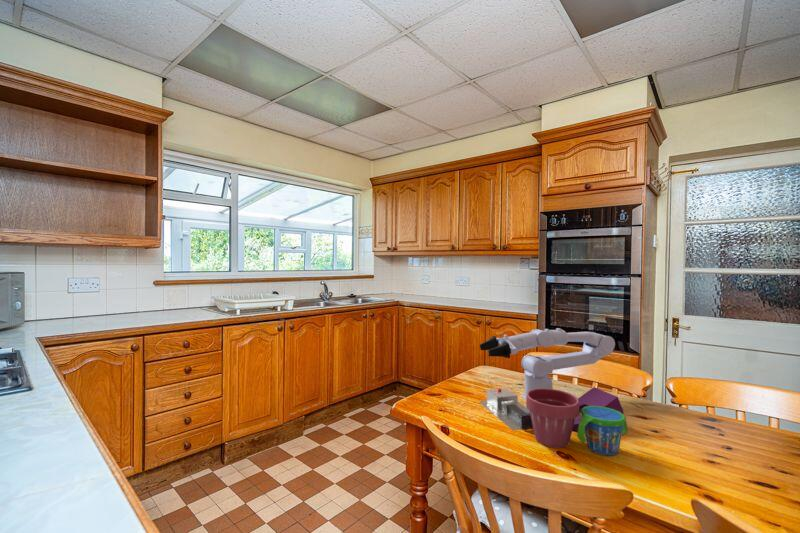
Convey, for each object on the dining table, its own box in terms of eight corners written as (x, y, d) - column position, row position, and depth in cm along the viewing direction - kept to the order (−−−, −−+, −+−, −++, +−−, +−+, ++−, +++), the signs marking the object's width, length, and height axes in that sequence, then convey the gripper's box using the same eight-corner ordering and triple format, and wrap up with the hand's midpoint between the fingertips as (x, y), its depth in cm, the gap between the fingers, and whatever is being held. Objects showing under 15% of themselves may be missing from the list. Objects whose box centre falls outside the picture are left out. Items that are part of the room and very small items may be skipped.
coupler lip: (512, 398, 139) (512, 387, 139) (553, 426, 115) (552, 412, 115) (478, 402, 136) (478, 390, 136) (512, 431, 112) (512, 417, 112)
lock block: (506, 399, 138) (506, 386, 138) (517, 407, 130) (517, 393, 130) (486, 401, 136) (486, 388, 136) (497, 409, 128) (497, 395, 128)
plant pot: (589, 452, 99) (589, 405, 99) (537, 453, 99) (537, 406, 99) (564, 428, 113) (564, 387, 113) (519, 429, 113) (519, 388, 113)
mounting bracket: (584, 452, 111) (627, 419, 116) (574, 428, 110) (617, 396, 114) (562, 437, 120) (602, 408, 125) (553, 416, 119) (594, 387, 123)
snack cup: (611, 437, 108) (611, 402, 108) (642, 455, 97) (642, 417, 97) (565, 443, 104) (564, 408, 104) (592, 463, 94) (592, 423, 94)
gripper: (507, 327, 144) (475, 334, 142) (527, 337, 130) (491, 345, 128) (510, 345, 145) (477, 352, 142) (529, 356, 130) (494, 364, 128)
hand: (484, 350), depth 135 cm, fingers open, 7 cm apart
